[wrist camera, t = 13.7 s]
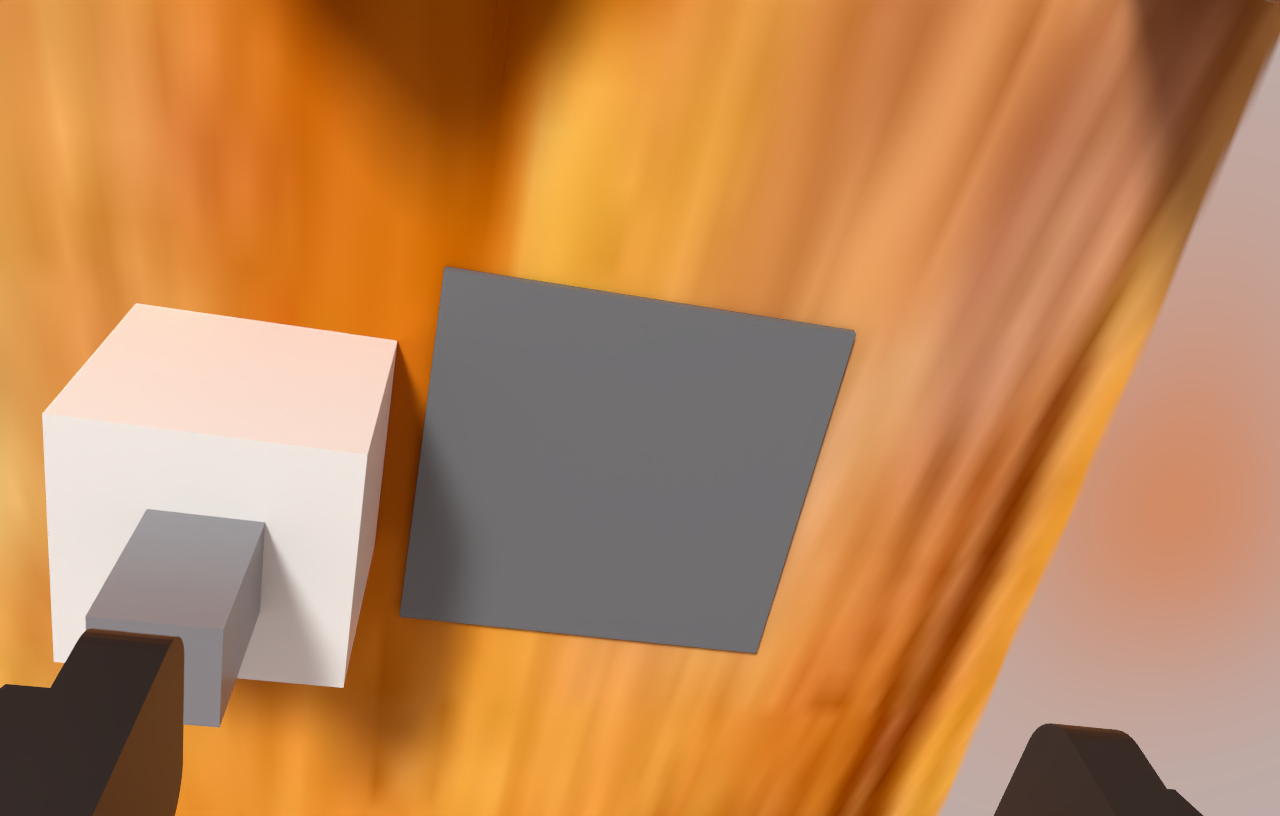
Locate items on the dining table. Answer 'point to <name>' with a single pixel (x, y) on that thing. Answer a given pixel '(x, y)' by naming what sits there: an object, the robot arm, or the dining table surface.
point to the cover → (219, 495)
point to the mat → (613, 462)
